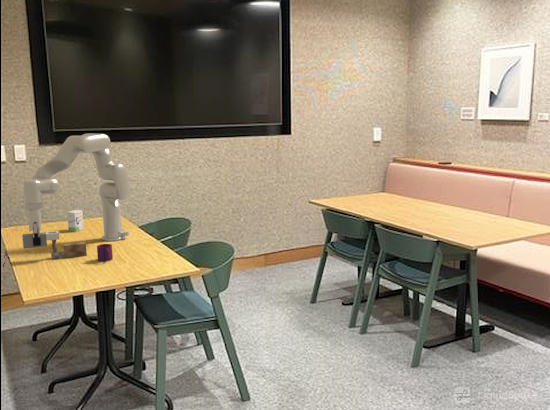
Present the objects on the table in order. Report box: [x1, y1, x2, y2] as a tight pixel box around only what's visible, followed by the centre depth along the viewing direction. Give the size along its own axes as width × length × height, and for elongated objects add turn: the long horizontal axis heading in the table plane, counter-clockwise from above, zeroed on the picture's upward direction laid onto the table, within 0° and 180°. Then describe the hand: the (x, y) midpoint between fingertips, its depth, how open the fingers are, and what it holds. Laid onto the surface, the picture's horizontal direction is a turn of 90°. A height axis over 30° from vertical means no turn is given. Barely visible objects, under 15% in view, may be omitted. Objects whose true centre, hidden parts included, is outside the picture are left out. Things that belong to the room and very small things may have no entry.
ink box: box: [67, 209, 84, 233], centre depth 310 cm, size 9×5×12 cm, turn 168°
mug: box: [96, 243, 114, 262], centre depth 245 cm, size 7×10×7 cm
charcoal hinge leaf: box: [21, 230, 60, 249], centre depth 247 cm, size 16×6×6 cm, turn 113°
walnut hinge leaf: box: [50, 240, 87, 260], centre depth 252 cm, size 16×4×9 cm, turn 113°
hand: (37, 244), depth 246 cm, fingers closed on charcoal hinge leaf, 4 cm apart
